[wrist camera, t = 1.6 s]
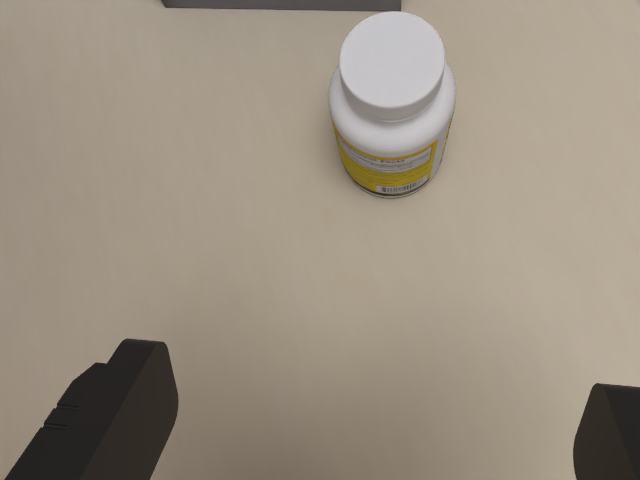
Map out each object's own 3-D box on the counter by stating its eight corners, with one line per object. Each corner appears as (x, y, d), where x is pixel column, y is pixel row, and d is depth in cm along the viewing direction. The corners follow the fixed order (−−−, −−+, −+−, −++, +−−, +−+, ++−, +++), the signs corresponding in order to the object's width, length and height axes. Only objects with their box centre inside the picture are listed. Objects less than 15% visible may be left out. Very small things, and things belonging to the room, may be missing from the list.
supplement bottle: (379, 87, 31) (378, -32, 22) (461, 141, 30) (497, 39, 21) (320, 163, 31) (292, 74, 21) (401, 220, 30) (410, 153, 20)
